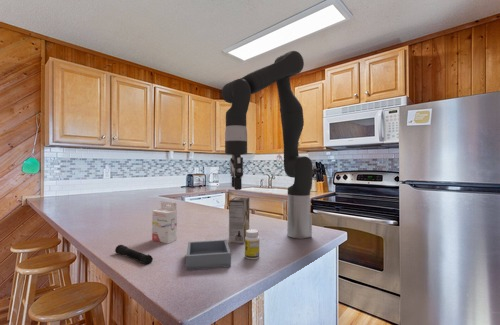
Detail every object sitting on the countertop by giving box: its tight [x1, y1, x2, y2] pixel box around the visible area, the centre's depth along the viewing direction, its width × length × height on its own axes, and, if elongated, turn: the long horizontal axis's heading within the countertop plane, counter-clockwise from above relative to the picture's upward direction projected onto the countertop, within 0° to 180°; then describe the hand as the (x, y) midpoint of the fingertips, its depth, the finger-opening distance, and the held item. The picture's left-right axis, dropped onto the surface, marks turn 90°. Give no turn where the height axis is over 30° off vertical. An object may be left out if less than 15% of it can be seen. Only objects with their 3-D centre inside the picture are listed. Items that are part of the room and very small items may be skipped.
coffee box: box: [228, 196, 250, 244], centre depth 98 cm, size 9×6×16 cm
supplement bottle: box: [244, 228, 260, 260], centre depth 80 cm, size 5×5×8 cm
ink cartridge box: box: [151, 201, 178, 244], centre depth 96 cm, size 9×5×15 cm, turn 65°
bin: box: [185, 239, 232, 271], centre depth 77 cm, size 13×13×4 cm
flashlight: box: [114, 244, 154, 266], centre depth 78 cm, size 3×16×3 cm, turn 56°
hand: (236, 188), depth 83 cm, fingers open, 8 cm apart
